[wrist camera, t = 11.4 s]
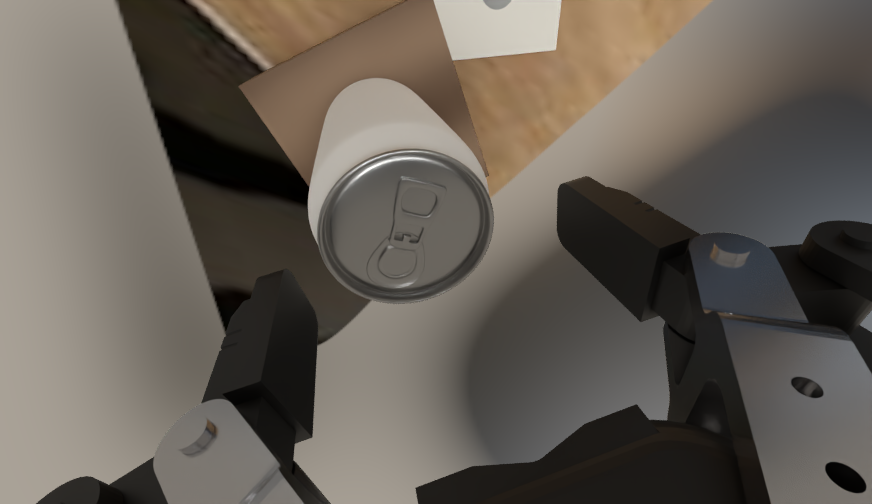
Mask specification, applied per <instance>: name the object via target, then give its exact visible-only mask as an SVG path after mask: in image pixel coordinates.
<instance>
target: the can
mask: <svg viewBox="0 0 872 504" xmlns="http://www.w3.org/2000/svg"><path fill="white" fill-rule="evenodd" d="M308 215H309V222H310V226H311V230H312V233H313V235H314V238H315V240H316V242H317V244H318V246H319V250H320V253H321V256H322V259H323V261H324V263H325V265H326V266H327V268H328V270H329V271H330V272H331V274H332V275H333V276H334V277H335V278H336V279H337V280H338V281H339V282H340V283H341V284H342V285H343V286H345V287H346V288H347V289H349V290H350V291H352V292H354V293H356V294H358V295H360V296H362V297H364V298H367V299H370V300H374V301H378V302H383V303H393V304H405V303H414V302H420V301H424V300H428V299H431V298H434V297H436V296H438V295H441V294H443V293H445V292H447V291H449V290H451V289H452V288H453V287H455V286H457V285H458V284H460V283H461V282H462V281H463V280H465V279H466V278H467V277H468V276H469V275H470V274H471V273H472V272H473V271H474V270H475V268H476V267H477V266H478V264H479V263H480V262H481V260H482V259H483V257H484V255H485V253H486V251H487V249H488V247H489V244H490V241H491V238H492V233H493V224H494V216H493V208H492V204H491V200H490V197H489V190H488V185H487V180H486V177H485V174H484V172H483V169H482V167H481V165H480V163H479V162H478V160H477V158H476V157H475V155H474V154H473V152H472V151H471V150H470V149H469V147H468V146H467V145H466V144H465V143H464V142H463V141H462V139H461V138H460V137H459V136H458V135H457V134H456V133H455V132H454V131H453V130H452V129H451V128H450V127H449V126H448V125H447V124H446V123H445V122H444V121H443V120H442V119H441V118H440V117H439V116H438V115H437V114H436V113H435V112H434V111H433V110H432V109H431V108H430V107H429V106H428V105H427V104H426V103H425V102H424V101H423V100H422V99H421V98H420V97H419V96H418V95H417V94H415V93H414V92H413V91H412V90H411V89H409V88H408V87H406V86H404V85H403V84H401V83H398V82H396V81H393V80H389V79H384V78H369V79H364V80H360V81H357V82H355V83H353V84H351V85H349V86H348V87H346V88H345V89H344V90H342V91H341V92H340V93H339V94H338V95H337V97H336V98H335V99H334V100H333V102H332V104H331V105H330V107H329V109H328V112H327V114H326V117H325V121H324V125H323V129H322V133H321V137H320V141H319V146H318V150H317V154H316V159H315V163H314V168H313V172H312V177H311V182H310V188H309V195H308Z"/></svg>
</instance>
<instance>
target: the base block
mask: <svg viewBox="0 0 872 504" xmlns="http://www.w3.org/2000/svg"><path fill="white" fill-rule="evenodd" d="M369 78H384V79H389V80H393V81H396V82H398V83H401V84H403V85H404V86H406V87H408V88H409V89H411V90H412V91H413V92H414V93H415V94H417V95H418V96H419V97H420V98H421V99H422V100H423V101H424V102H425V103H426V104H427V105H428V106H429V107H430V108H431V109H432V110H433V111H434V112H435V113H436V114H437V115H438V116H439V117H440V118H441V119H442V120H443V121H444V122H445V123H446V124H447V125H448V126H449V127H450V128H451V129H452V130H453V131H454V132H455V133H456V134H457V135H458V136H459V137H460V138H461V139H462V141H463V142H464V143H465V144H466V145H467V146H468V147H469V149H470V150H471V151H472V152H473V154H474V155H475V157H476V158H477V160H478V162H479V163H480V165H481V167H482V169H483V172H484V174H485V177H487V176H489V174H488V171H487V168H486V164H485V161H484V158H483V155H482V152H481V149H480V146H479V142H478V139H477V136H476V133H475V130H474V127H473V123H472V120H471V117H470V114H469V111H468V108H467V105H466V101H465V98H464V95H463V92H462V89H461V86H460V82H459V79H458V76H457V73H456V70H455V67H454V64H453V60H452V57H451V54H450V51H449V48H448V45H447V42H446V38H445V35H444V32H443V29H442V26H441V23H440V19H439V16H438V13H437V10H436V7H435V4H434V1H433V0H405V1H403V2H401V3H399V4H397V5H395V6H393V7H391V8H389V9H387V10H385V11H383V12H381V13H379V14H377V15H375V16H373V17H372V18H370V19H368V20H366V21H364V22H362V23H360V24H358V25H356V26H354V27H352V28H350V29H348V30H346V31H344V32H342V33H340V34H338V35H336V36H334V37H332V38H330V39H328V40H326V41H324V42H322V43H320V44H318V45H316V46H314V47H312V48H310V49H308V50H306V51H304V52H302V53H300V54H298V55H296V56H294V57H292V58H290V59H288V60H286V61H284V62H282V63H280V64H278V65H276V66H275V67H273V68H271V69H269V70H267V71H265V72H263V73H261V74H259V75H257V76H255V77H253V78H251V79H250V80H248V81H246V82H244V83H243V84H241V85H239V88H240V89H241V91H242V92H243V93H244V95H245V96H246V98H247V99H248V101H249V102H250V103H251V105H252V106H253V108H254V109H255V111H256V112H257V113H258V115H259V116H260V118H261V119H262V120H263V122H264V123H265V125H266V126H267V128H268V129H269V130H270V132H271V133H272V135H273V136H274V137H275V139H276V140H277V142H278V143H279V145H280V146H281V147H282V149H283V150H284V152H285V153H286V155H287V156H288V157H289V159H290V160H291V162H292V163H293V164H294V166H295V167H296V169H297V170H298V172H299V173H300V174H301V176H302V177H303V179H304V180H305V182H306V183H307V184H308V186H309V187H310V182H311V177H312V172H313V168H314V163H315V159H316V154H317V150H318V146H319V141H320V137H321V133H322V129H323V125H324V121H325V117H326V114H327V112H328V109H329V107H330V105H331V104H332V102H333V100H334V99H335V98H336V97H337V95H338V94H339V93H340V92H341V91H342V90H344V89H345V88H346V87H348V86H349V85H351V84H353V83H355V82H357V81H360V80H364V79H369Z"/></svg>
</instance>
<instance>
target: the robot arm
mask: <svg viewBox="0 0 872 504" xmlns="http://www.w3.org/2000/svg"><path fill="white" fill-rule="evenodd" d="M557 233H558V237H559V240H560V242H561V244H562V245H563V246H564V248H565V249H566V250H567V251H568V252H569V253H570V254H571V255H572V256H573V257H574V258H576V259H577V260H578V261H579V262H580V263H581V264H582V265H583V266H584V267H585V268H586V269H587V270H588V271H589V272H590V273H591V274H592V275H593V276H594V277H595V278H596V279H597V280H598V281H599V282H600V283H601V284H602V285H603V286H604V287H605V288H607V290H608V291H609V292H610V293H611V294H612V295H614V296H615V297H616V298H617V299H618V300H619V301H620V302H621V303H622V304H623V305H624V306H625V307H626V308H627V309H628V310H629V311H630V312H631V313H632V314H633V315H634V316H635V317H636V318H637V319H638V320H639V321H640V322H643V321H645V320H648V319H651V318H654V317H656V316H660V317H661V318H663V319H664V320H665V323H664V326H663V337H664V346H665V356H666V365H667V374H668V384H669V396H670V397H669V408H668V416H667V421H666V420H649V419H648V418H647V417H646V415H645V414H644V413H643V412H642V411H641V409H640V408H639V407H638V405H634V406H631V407H628V408H626V409H623V410H620V411H618V412H615V413H612V414H610V415H607V416H605V417H602V418H599V419H596V420H594V421H591V422H589V423H586V424H584V425H583V426H582V427H580V428H579V429H578V430H577V431H575V432H574V433H573V434H572V435H570V436H569V437H568V438H566V439H565V440H564V441H563V442H561V443H560V444H559V445H558V446H556V447H555V448H554V449H553V450H551V452H549V453H548V454H546V455H545V456H544V457H543V458H541V459H540V460H538V461H535V462H530V463H515V464H500V465H486V466H472V467H469V468H467V469H464V470H462V471H459V472H456V473H454V474H451V475H448V476H446V477H443V478H440V479H438V480H435V481H432V482H430V483H427V484H424V485H422V486H419V487H417V488H416V493H417V499H418V504H872V332H870V331H868V330H867V329H865V328H863V327H862V326H860V323H861V322H862V321H863V320H864V319H865V318H866V316H867V315H868V314H869V313H870V311H871V310H872V224H868V223H862V222H855V221H827V222H822V223H819V224H817V225H815V226H813V227H812V228H811V230H810V231H809V233H808V235H807V237H806V239H805V240H804V242H803V244H800V245H788V246H777V247H767V246H766V245H764V244H763V243H761V242H759V241H757V240H755V239H752V238H750V237H746V236H743V235H739V234H734V233H726V232H712V233H706V234H699V233H697V232H695V231H693V230H692V229H690V228H688V227H687V226H685V225H683V224H681V223H680V222H678V221H676V220H675V219H673V218H671V217H669V216H667V215H666V214H664V213H662V212H661V211H659V210H654V208H653V207H652V206H650V205H649V204H647V203H645V202H644V203H642V201H641V200H640V199H638V198H636V197H635V196H633V195H631V194H629V193H628V192H624V191H621V190H617V189H614V188H610V187H605V186H604V185H602V184H600V183H599V182H597V181H595V180H594V179H592V178H590V177H587V176H585V177H582V178H579V179H575V180H572V181H569V182H566V183H563V184H561V185H560V186H559V188H558V199H557ZM317 339H318V322H317V317H316V314H315V311H314V309H313V307H312V305H311V304H310V302H309V300H308V299H307V297H306V295H305V294H304V292H303V290H302V289H301V287H300V286H299V284H298V282H297V281H296V279H295V277H294V276H293V274H292V273H291V272H290V271H289V270H288V269H284V270H281V271H278V272H274V273H271V274H268V275H265V276H262V277H259V278H258V279H257V280H256V283H255V286H254V290H253V293H252V296H251V299H249V300H246V301H244V302H243V303H242V304H241V306H240V307H239V308H238V309H237V311H236V312H235V313H234V315H233V316H232V317H231V320H230V323H229V325H228V328H227V331H226V337H224V340H223V343H222V345H221V349H222V350H221V351H219V355H218V357H217V360H216V363H215V366H214V369H213V371H212V374H211V377H210V380H209V383H208V386H207V388H206V391H205V394H204V397H203V400H202V403H201V404H200V405H198V406H196V407H194V408H193V409H191V410H190V411H188V412H187V413H186V414H184V415H183V416H182V417H181V418H180V419H179V420H177V421H176V423H175V424H174V425H173V426H172V427H171V428H170V429H169V430H168V432H167V433H166V434H165V436H164V437H163V439H162V440H161V442H160V444H159V446H158V448H157V450H156V453H155V456H154V457H153V458H151V459H150V460H148V461H147V462H145V463H143V464H142V465H140V466H139V467H137V468H135V469H134V470H132V471H131V472H129V473H127V474H126V475H124V476H123V477H121V478H119V479H118V480H116V481H115V482H113V483H111V484H110V485H108V484H106V483H104V482H102V481H99V480H97V479H95V478H93V477H88V476H86V477H80V478H76V479H74V480H71V481H69V482H67V483H65V484H63V485H61V486H59V487H58V488H56V489H55V490H53V491H52V492H50V493H49V494H47V495H46V496H45V497H44V498H42V499H41V500H40V501H39V502H38V503H36V504H331V503H330V502H329V501H328V500H327V498H326V497H325V496H324V495H323V494H322V492H321V491H320V490H319V489H318V488H317V487H316V485H315V484H314V483H313V482H312V481H311V480H310V478H309V477H308V476H307V475H306V473H305V472H304V471H303V470H302V469H301V468H300V467H299V465H298V464H297V463H296V462H295V461H294V460H293V457H294V446H295V443H298V442H301V441H304V440H306V439H309V438H312V434H313V414H314V396H315V376H316V358H317Z"/></svg>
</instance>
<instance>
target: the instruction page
mask: <svg viewBox="0 0 872 504" xmlns="http://www.w3.org/2000/svg"><path fill="white" fill-rule="evenodd" d="M433 1H434V4H435V7H436V10H437V13H438V16H439V19H440V23H441V26H442V29H443V32H444V35H445V38H446V42H447V45H448V48H449V51H450V54H451V57H452V60H453V61H454V60H464V59H473V58H483V57H493V56H503V55H513V54H523V53H532V52H542V51H552V50H556V43H557V35H558V26H559V17H560V9H561V0H433Z"/></svg>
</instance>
